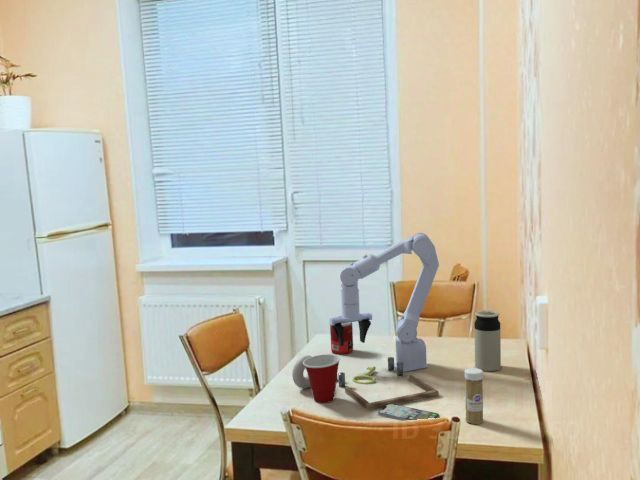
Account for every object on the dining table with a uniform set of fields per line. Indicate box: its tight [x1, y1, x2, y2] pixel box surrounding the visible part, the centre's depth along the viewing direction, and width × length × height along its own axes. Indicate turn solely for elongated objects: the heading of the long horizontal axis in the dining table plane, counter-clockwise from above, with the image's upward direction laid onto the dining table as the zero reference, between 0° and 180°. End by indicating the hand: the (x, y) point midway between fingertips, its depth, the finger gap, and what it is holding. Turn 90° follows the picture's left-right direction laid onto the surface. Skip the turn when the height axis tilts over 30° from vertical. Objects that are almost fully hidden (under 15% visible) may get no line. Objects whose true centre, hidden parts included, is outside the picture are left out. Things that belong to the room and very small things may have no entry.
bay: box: [344, 374, 439, 411], centre depth 177 cm, size 22×15×2 cm
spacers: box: [337, 356, 404, 388], centre depth 191 cm, size 22×8×4 cm, turn 111°
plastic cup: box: [303, 353, 341, 404], centre depth 175 cm, size 11×11×12 cm
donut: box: [291, 354, 313, 389], centre depth 185 cm, size 10×4×10 cm, turn 134°
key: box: [351, 365, 377, 385], centre depth 192 cm, size 7×12×2 cm, turn 174°
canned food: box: [329, 322, 354, 356], centre depth 219 cm, size 8×8×11 cm
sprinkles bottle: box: [464, 367, 484, 425], centre depth 155 cm, size 5×5×14 cm
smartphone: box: [377, 404, 440, 421], centre depth 162 cm, size 7×1×15 cm
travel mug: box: [473, 310, 502, 372], centre depth 195 cm, size 8×8×18 cm
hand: (351, 343), depth 201 cm, fingers open, 7 cm apart
